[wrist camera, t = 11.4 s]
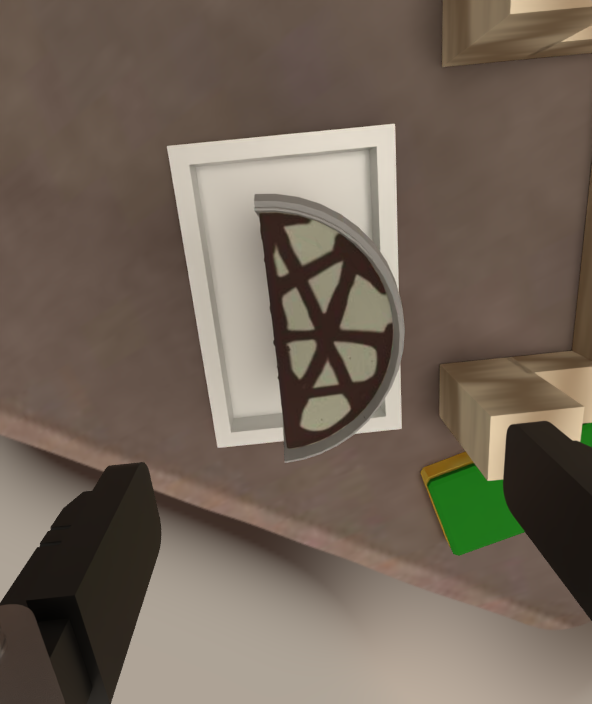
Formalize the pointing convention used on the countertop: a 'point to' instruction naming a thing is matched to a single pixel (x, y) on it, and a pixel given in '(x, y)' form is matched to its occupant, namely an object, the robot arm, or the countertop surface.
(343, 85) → the countertop surface
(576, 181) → the countertop surface
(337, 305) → the food container
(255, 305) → the tray
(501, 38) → the holder
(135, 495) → the robot arm
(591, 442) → the dish sponge
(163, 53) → the countertop surface
